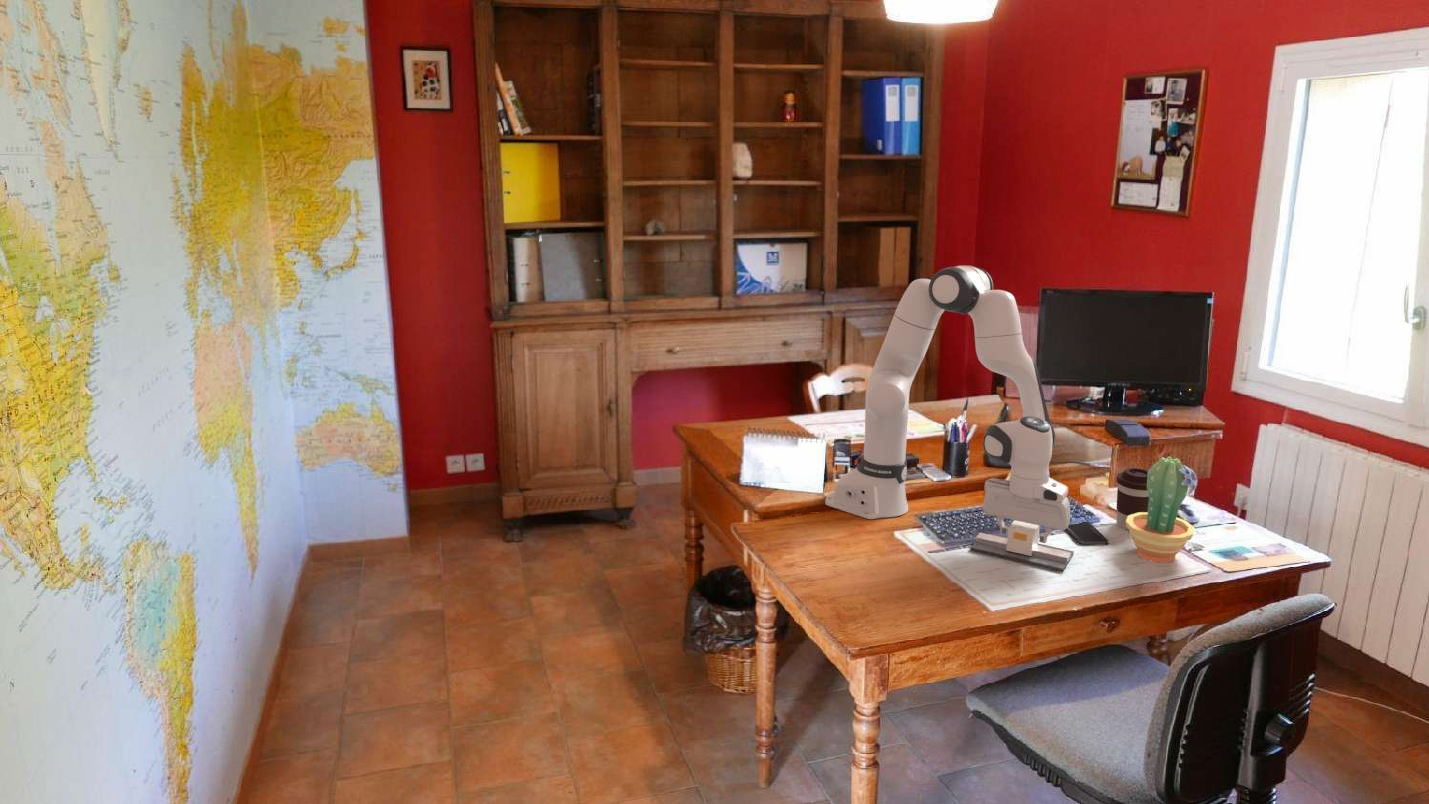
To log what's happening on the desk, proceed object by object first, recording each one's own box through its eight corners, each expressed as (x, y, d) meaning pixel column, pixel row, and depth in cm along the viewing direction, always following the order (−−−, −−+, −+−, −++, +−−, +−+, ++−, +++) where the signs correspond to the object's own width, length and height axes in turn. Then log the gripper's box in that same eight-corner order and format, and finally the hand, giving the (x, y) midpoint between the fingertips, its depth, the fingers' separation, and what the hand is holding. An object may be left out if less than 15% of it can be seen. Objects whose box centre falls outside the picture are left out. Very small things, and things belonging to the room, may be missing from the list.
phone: (1079, 542, 242) (1056, 518, 256) (1078, 546, 242) (1055, 522, 257) (1110, 542, 242) (1085, 517, 257) (1109, 546, 243) (1085, 521, 257)
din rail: (970, 551, 239) (971, 542, 238) (983, 535, 248) (984, 527, 247) (1062, 572, 228) (1063, 564, 227) (1073, 555, 237) (1074, 546, 236)
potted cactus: (1150, 572, 228) (1164, 472, 221) (1108, 544, 242) (1120, 450, 235) (1205, 564, 232) (1221, 466, 225) (1160, 538, 246) (1174, 444, 239)
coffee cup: (1158, 534, 249) (1166, 479, 244) (1119, 533, 249) (1126, 478, 244) (1142, 518, 258) (1150, 465, 254) (1105, 518, 258) (1112, 465, 254)
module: (1005, 550, 236) (1007, 528, 234) (1013, 541, 241) (1015, 519, 240) (1030, 556, 233) (1033, 533, 231) (1037, 546, 238) (1040, 524, 237)
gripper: (981, 480, 235) (977, 532, 239) (1069, 497, 225) (1062, 552, 229) (989, 472, 240) (984, 523, 244) (1075, 488, 230) (1068, 542, 234)
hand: (1023, 537), depth 237 cm, fingers open, 8 cm apart
